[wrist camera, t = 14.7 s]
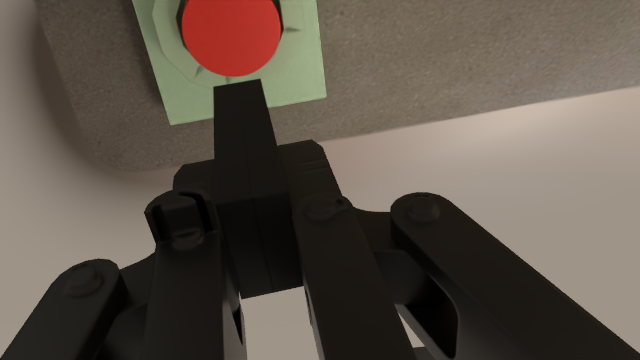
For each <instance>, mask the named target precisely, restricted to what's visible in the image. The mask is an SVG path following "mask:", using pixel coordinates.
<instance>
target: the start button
mask: <svg viewBox="0 0 640 360" xmlns="http://www.w3.org/2000/svg"><path fill="white" fill-rule="evenodd" d="M280 33H281V27H280V19H279V15H278V12H277V10H276V8H275V6H274V4H273V2H272V0H186V3H185V7H184V11H183V17H182V34H183V39H184V42H185V45H186V47H187V49H188V51H189V52H190V54H191V55H192V57H193V58H194V59H195V60H196V61H197V62H198V63H199V64H200V65H201V66H203V67H204V68H205V69H207V70H209V71H211V72H213V73H215V74H218V75H222V76H228V77H239V76H245V75H248V74H251V73H254V72H255V71H257V70H259V69H260V68H262V67H263V66H264V65H265V64H267V63H268V61H269V60H270V59H271V58H272V56H273V55H274V53H275V51H276V49H277V47H278V44H279V40H280Z"/></svg>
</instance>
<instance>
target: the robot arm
mask: <svg viewBox="0 0 640 360" xmlns="http://www.w3.org/2000/svg"><path fill="white" fill-rule="evenodd" d="M213 102H214V159H211V160H206V161H201V162H195V163H190V164H185V165H182V167H181V168H180V169H179V170H178V172H177V173H176V174H175V176H174V180H173V190H171V191H168V192H165V193H163V194H161V195H160V196H158V197H156V198H155V199H154V200H153V201H151V202H150V203H149V204H148V206H147V207H146V210H145V211H144V214H145V216H146V219H147V222H148V224H149V227H150V230H151V232H152V235H153V238H154V240H155V243H156V248H155V252H154V253H153V254H151V255H150V256H148V257H147V258H145V259H143V260H141V261H139V262H137V263H134V264H132V265H130V266H127V267H125V268H123V269H120V270H119V268H118V266H117V264H116V263H114V262H112V261H111V260H107V259H94V260H88V261H84V262H82V263H80V264H77V265H74V266H72V267H71V268H69V269H68V270H66V271H65V272H63V273H62V274H60V275H59V277H58V278H57V279H56V280H55V281H54V282H53V283H52V284H51V285H50V287H49V288H48V290H47V291H46V293H45V294H44V296H43V297H42V299H41V300H40V301H39V303H38V305H37V306H36V308H35V309H34V310H33V312H32V313H31V315H30V316H29V317H28V319H27V320H26V322H25V323H24V325H23V326H22V328H21V329H20V331H19V332H18V334H17V335H16V336H15V338H14V339H13V341H12V343H11V344H10V345H9V346H8V348H7V349H6V351H5V352H4V354H3V355H2V357H1V358H0V360H247V350H246V338H245V326H244V316H243V312H242V309H241V305H240V301H239V292H240V296H241V299H245V298H250V297H255V296H260V295H264V294H269V293H274V292H278V291H282V290H287V289H292V288H296V287H301V286H304V289H305V295H306V301H307V307H308V312H309V318H310V323H311V325H312V328H313V333H314V337H315V341H316V346H317V351H318V355H319V360H418V359H417V357H416V354H415V352H414V349H413V347H412V345H411V342H410V340H409V338H408V335H407V333H406V331H405V328H404V326H403V324H402V321H401V319H400V317H399V314H400V315H401V316H402V317H403V319H404V320H405V321H406V323H407V324H408V325H409V326H410V328H411V329H412V330H413V332H414V333H415V334H416V335H417V337H418V338H419V339H420V340H421V342H422V343H423V344H424V345H425V347H426V348H427V349H428V350H429V352H430V353H431V354H432V355H433V357H434V358H435V359H436V360H640V353H638V352H637V351H636V350H635V349H633V348H632V347H631V346H630V345H628V344H627V343H626V342H624V341H623V340H622V339H621V338H620V337H618V336H617V335H616V334H615V333H613V332H612V331H611V330H610V329H608V328H607V327H606V326H605V325H603V324H602V323H601V322H600V321H598V320H597V319H596V318H595V317H593V316H592V315H591V314H590V313H589V312H587V311H586V310H584V309H583V308H582V307H581V306H580V305H578V304H577V303H576V302H575V301H574V300H572V299H571V298H570V297H569V296H567V295H566V294H565V293H563V292H562V291H561V290H560V289H559V288H557V287H556V286H555V285H554V284H552V283H551V282H550V281H549V280H547V279H546V278H545V277H544V276H542V275H541V274H540V273H539V272H537V271H536V270H535V269H534V268H532V267H531V266H530V265H529V264H528V263H526V262H525V261H524V260H523V259H521V258H520V257H519V256H518V255H516V254H515V253H514V252H513V251H511V250H510V249H509V248H508V247H506V246H505V245H504V244H503V243H501V242H500V241H499V240H498V239H496V238H495V237H494V236H493V235H491V234H490V233H489V232H487V231H486V230H485V229H484V228H483V227H481V226H480V225H479V224H478V223H476V222H475V221H474V220H473V219H471V218H470V217H469V216H468V215H467V214H465V213H464V212H463V211H462V210H460V209H459V208H458V207H456V206H455V205H454V204H453V203H452V202H450V201H449V200H447V199H445V198H444V197H442V196H440V195H436V194H432V193H428V192H425V193H423V192H416V193H411V194H407V195H404V196H402V197H400V198H398V199H397V200H396V201H395V202H394V203H393V204H392V206H391V209H390V210H391V211H390V212H372V211H364V210H360V209H357V208H355V207H353V205H352V203H351V202H350V201H349V200H348V199H347V198H346V197H344V196H342V194H341V191H340V189H339V186H338V184H337V181H336V179H335V176H334V174H333V172H332V169H331V167H330V164H329V162H328V159H327V157H326V155H325V152H324V150H323V147H322V146H320V145H319V144H317V143H316V142H314V141H313V140H306V141H300V142H295V143H290V144H284V145H279V146H277V143H276V139H275V135H274V131H273V127H272V123H271V119H270V115H269V111H268V107H267V103H266V99H265V95H264V90H263V86H262V82H261V78H260V79H254V80H249V81H243V82H237V83H231V84H225V85H220V86H214V87H213ZM397 311H398V312H397ZM398 313H399V314H398Z"/></svg>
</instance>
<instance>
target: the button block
mask: <svg viewBox="0 0 640 360" xmlns="http://www.w3.org/2000/svg"><path fill="white" fill-rule="evenodd" d="M132 2H133V6H134V9H135V12H136V15H137V19H138V22H139V25H140V29H141V32H142V35H143V38H144V42H145V45H146V48H147V51H148V55H149V58H150V61H151V64H152V68H153V71H154V74H155V77H156V81H157V84H158V87H159V91H160V94H161V97H162V100H163V104H164V107H165V110H166V113H167V117H168V120H169V123H170V125H175V124H181V123H186V122H192V121H197V120H203V119H209V118H214V102H213V87H214V86H220V85H225V84H231V83H237V82H243V81H249V80H254V79H260V78H261V82H262V86H263V90H264V95H265V99H266V103H267V107H268V108H270V107H276V106H281V105H287V104H293V103H298V102H304V101H309V100H315V99H321V98H326V87H325V78H324V69H323V59H322V50H321V41H320V32H319V22H318V13H317V4H316V0H272V2H273V4H274V6H275V8H276V10H277V12H278V15H279V19H280V27H281V33H280V40H279V44H278V47H277V49H276V51H275V53H274V55H273V56H272V58H271V59H270V60H269V61H268V63H267V64H265V65H264V66H263V67H262V68H260V69H259V70H257V71H255V72H254V73H251V74H248V75H245V76H239V77H228V76H222V75H218V74H215V73H213V72H211V71H209V70H207V69H205V68H204V67H203V66H201V65H200V64H199V63H198V62H197V61H196V60H195V59H194V58H193V57H192V55H191V54H190V52H189V51H188V49H187V47H186V45H185V42H184V39H183V34H182V17H183V11H184V7H185V3H186V0H132Z"/></svg>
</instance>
